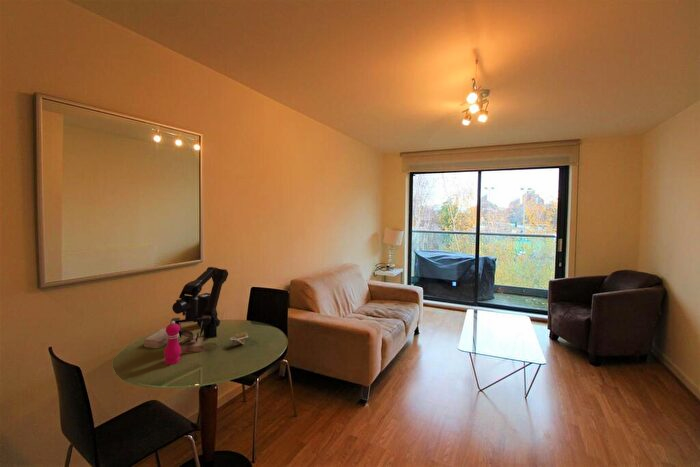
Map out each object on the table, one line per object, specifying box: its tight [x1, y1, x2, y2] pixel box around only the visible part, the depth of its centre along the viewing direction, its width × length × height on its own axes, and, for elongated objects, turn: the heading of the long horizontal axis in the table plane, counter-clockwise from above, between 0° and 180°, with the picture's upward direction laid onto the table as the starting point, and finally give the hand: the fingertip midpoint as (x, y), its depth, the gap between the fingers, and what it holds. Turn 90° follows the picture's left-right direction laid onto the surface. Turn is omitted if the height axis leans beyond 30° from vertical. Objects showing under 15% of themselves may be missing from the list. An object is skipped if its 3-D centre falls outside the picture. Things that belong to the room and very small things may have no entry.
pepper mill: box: [163, 321, 181, 365], centre depth 153 cm, size 7×7×20 cm
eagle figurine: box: [179, 329, 200, 345], centre depth 168 cm, size 8×7×9 cm
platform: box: [229, 332, 249, 347], centre depth 176 cm, size 12×18×7 cm, turn 135°
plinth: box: [178, 336, 204, 355], centre depth 169 cm, size 12×12×3 cm
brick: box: [143, 327, 168, 349], centre depth 175 cm, size 17×8×5 cm, turn 177°
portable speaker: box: [196, 292, 211, 328], centre depth 200 cm, size 9×9×20 cm
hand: (190, 336), depth 169 cm, fingers open, 9 cm apart
